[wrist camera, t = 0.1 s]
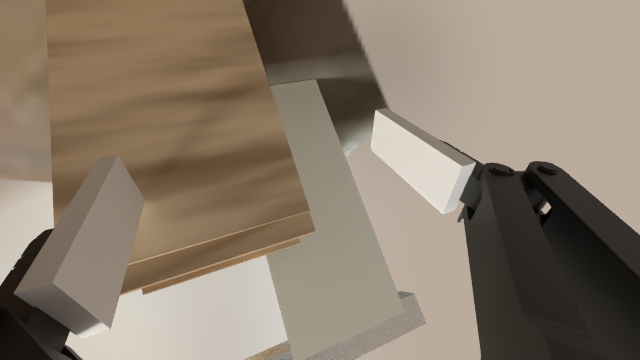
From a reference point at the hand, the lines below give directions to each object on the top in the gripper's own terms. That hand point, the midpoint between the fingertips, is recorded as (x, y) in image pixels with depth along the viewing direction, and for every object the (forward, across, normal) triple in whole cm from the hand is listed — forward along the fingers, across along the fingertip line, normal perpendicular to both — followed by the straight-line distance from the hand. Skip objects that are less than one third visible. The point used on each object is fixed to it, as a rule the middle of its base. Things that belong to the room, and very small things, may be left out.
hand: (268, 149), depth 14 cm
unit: (+24, +4, -7) cm, 25 cm away
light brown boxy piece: (+16, -5, +4) cm, 17 cm away
